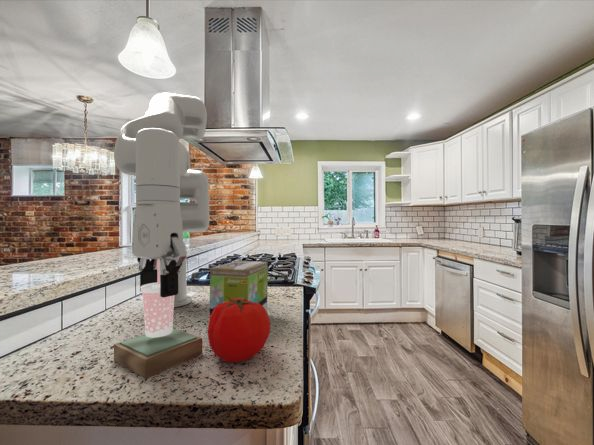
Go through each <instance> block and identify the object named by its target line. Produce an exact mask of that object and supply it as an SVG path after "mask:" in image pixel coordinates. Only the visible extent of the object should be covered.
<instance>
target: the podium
mask: <svg viewBox="0 0 594 445" xmlns="http://www.w3.org/2000/svg"><path fill="white" fill-rule="evenodd" d="M200 355H203V337H201V336H197V335H195V334H192V333H190V332H189V333H188V332H185V331H184V330H183V331H182V330H180V329H178V328H174V327H173V329H172V333H170V334H169V335H166V336H162V337H155V338H152V337H147V336H146V335H145V333H144V334H142V335H138V336H135V337H132V338H129V339H125V340H122V341H120V342H117V343H114V344H113V361H114V362H115V363H117V364H119V365H121V366H123V367H125V368H126V369H127V370H130V371H132V372H134V373H135V374H137V375H139V376H141V377H142V378H144V379H147V378H150V377H152V376H155V375H157V374H159V373H161V372H164V371H166V370H168V369H170V368H172V367H176V366H177V365H179V364H183V363H184V362H186V361H189V360H191V359H193V358H195V357H198V356H200Z"/></svg>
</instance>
